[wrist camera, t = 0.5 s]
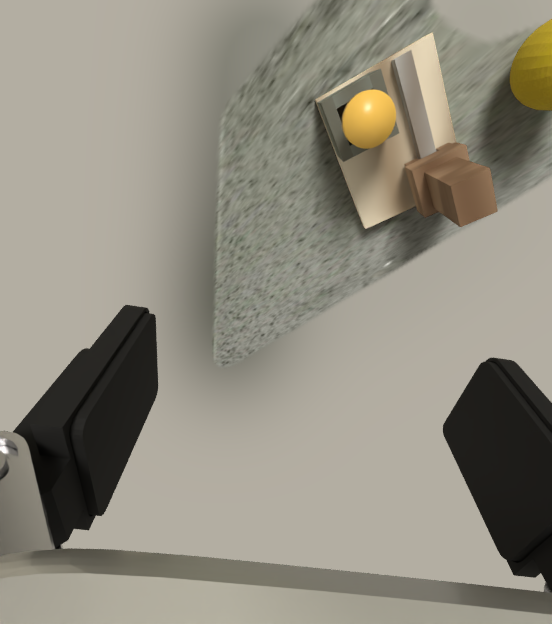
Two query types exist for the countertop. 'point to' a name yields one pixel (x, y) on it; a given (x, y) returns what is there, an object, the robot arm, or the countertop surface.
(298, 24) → the countertop surface
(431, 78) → the rail base
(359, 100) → the button
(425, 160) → the block
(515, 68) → the lemon
